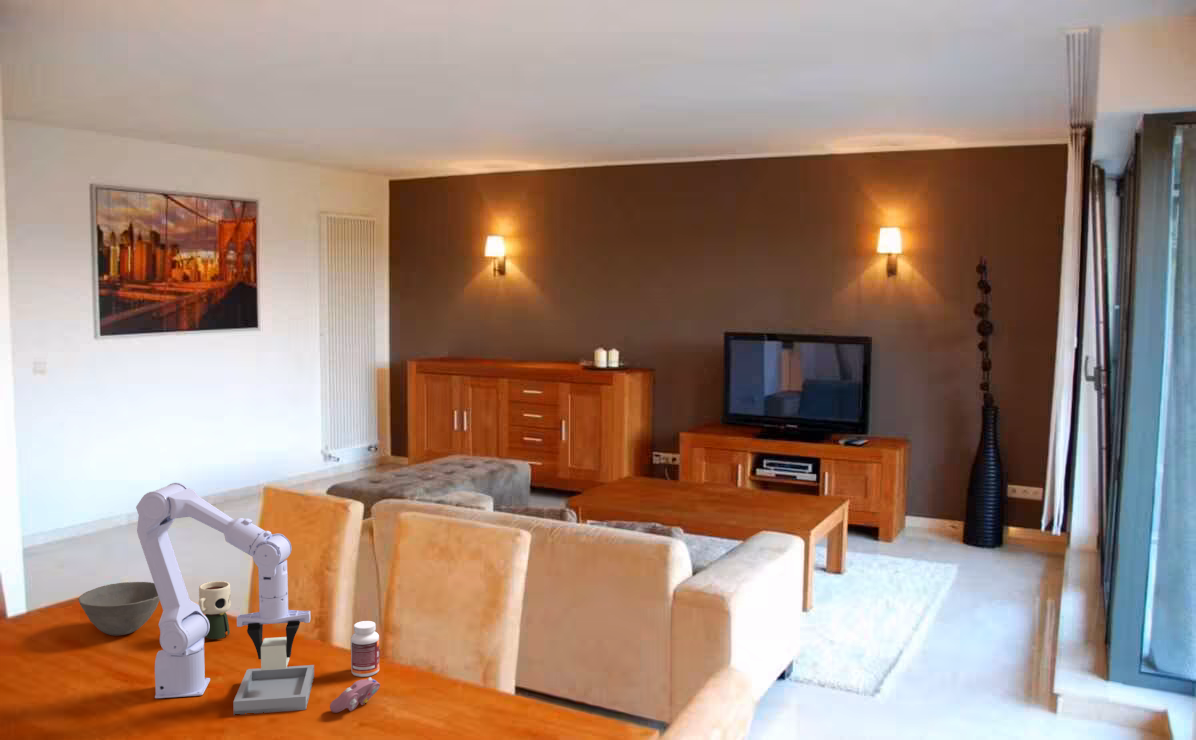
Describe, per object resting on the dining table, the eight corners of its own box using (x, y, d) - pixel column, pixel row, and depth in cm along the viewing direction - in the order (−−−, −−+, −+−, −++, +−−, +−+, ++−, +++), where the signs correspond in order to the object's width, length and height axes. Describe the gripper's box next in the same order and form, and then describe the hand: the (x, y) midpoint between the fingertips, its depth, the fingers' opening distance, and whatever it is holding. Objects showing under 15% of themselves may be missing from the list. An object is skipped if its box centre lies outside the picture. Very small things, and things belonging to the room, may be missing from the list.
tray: (233, 714, 189) (233, 701, 189) (247, 681, 205) (247, 669, 204) (305, 709, 192) (305, 696, 191) (314, 677, 207) (313, 664, 207)
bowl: (142, 647, 223) (141, 606, 222) (64, 646, 223) (62, 605, 222) (178, 619, 241) (177, 581, 240) (106, 617, 242) (104, 580, 241)
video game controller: (340, 724, 189) (351, 698, 187) (326, 709, 191) (336, 683, 189) (376, 705, 197) (386, 680, 195) (362, 691, 199) (372, 666, 197)
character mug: (213, 646, 223) (211, 593, 222) (188, 643, 225) (186, 590, 224) (242, 630, 234) (241, 580, 233) (218, 627, 236) (217, 577, 235)
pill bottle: (383, 673, 209) (383, 626, 208) (356, 680, 206) (356, 631, 205) (373, 664, 215) (373, 617, 214) (347, 670, 211) (346, 622, 210)
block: (261, 670, 195) (260, 646, 195) (264, 660, 200) (264, 638, 200) (286, 668, 196) (285, 645, 196) (289, 659, 201) (288, 636, 201)
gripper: (311, 586, 201) (312, 647, 203) (240, 589, 199) (242, 651, 200) (307, 596, 195) (309, 660, 196) (234, 600, 192) (235, 664, 193)
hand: (274, 656), depth 197 cm, fingers closed on block, 5 cm apart
